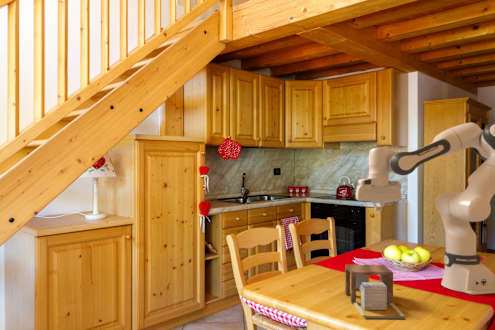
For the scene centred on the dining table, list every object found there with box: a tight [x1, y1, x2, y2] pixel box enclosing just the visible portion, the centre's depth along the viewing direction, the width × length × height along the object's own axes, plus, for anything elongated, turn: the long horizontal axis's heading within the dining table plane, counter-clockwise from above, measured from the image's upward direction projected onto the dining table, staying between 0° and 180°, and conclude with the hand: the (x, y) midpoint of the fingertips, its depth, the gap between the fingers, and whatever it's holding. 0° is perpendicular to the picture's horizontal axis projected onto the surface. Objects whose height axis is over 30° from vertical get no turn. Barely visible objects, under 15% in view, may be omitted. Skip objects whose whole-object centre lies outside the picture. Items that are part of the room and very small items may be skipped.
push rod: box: [356, 275, 370, 292], centre depth 146 cm, size 8×18×7 cm, turn 179°
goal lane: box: [353, 302, 406, 318], centre depth 132 cm, size 14×11×1 cm
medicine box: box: [360, 281, 388, 311], centre depth 134 cm, size 8×4×9 cm, turn 88°
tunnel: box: [344, 264, 394, 305], centre depth 144 cm, size 15×10×12 cm, turn 89°
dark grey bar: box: [363, 315, 406, 320], centre depth 126 cm, size 13×2×1 cm, turn 89°
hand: (378, 210), depth 175 cm, fingers closed
